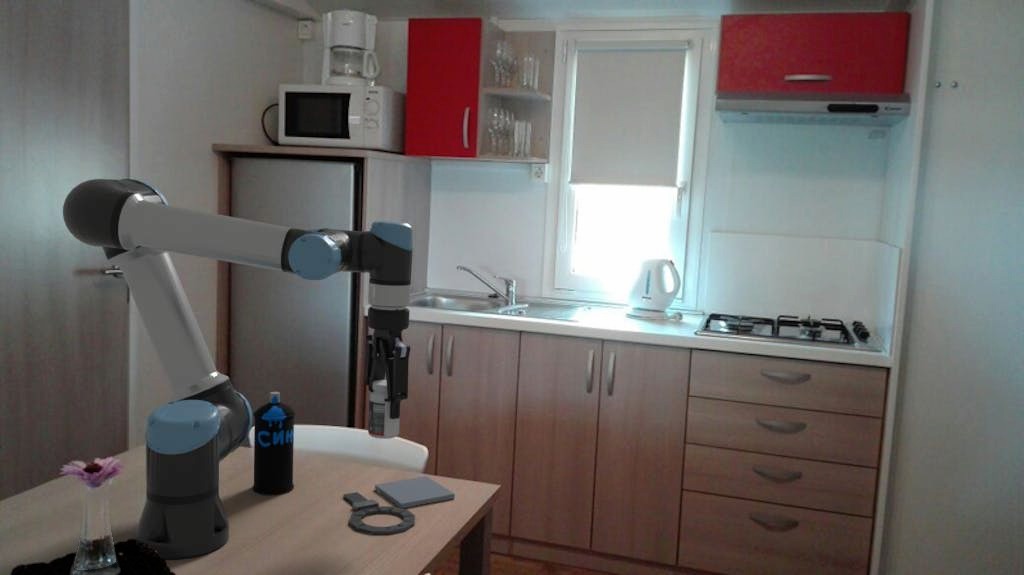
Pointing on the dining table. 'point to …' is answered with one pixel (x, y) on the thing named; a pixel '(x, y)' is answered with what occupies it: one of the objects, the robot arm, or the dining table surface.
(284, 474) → the aerosol can
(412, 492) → the slate trivet
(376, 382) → the pill bottle
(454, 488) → the dining table surface
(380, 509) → the iron eye
